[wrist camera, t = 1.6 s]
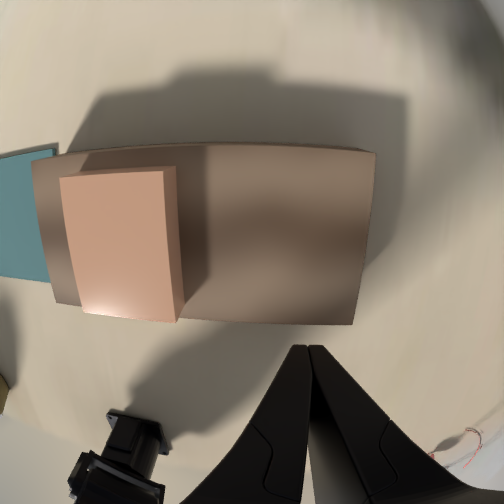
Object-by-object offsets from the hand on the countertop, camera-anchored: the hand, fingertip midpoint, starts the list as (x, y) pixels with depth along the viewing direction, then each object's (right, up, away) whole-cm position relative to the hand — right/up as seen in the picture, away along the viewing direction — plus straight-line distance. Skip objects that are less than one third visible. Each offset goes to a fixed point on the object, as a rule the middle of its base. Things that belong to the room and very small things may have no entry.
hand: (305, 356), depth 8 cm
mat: (-23, +6, +13) cm, 27 cm away
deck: (-5, +5, +12) cm, 14 cm away
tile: (-8, +4, +9) cm, 13 cm away
